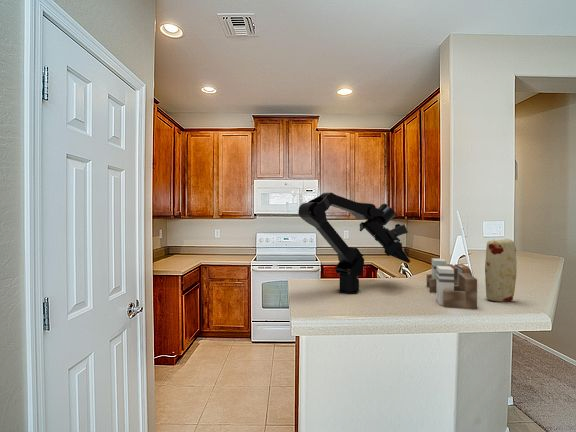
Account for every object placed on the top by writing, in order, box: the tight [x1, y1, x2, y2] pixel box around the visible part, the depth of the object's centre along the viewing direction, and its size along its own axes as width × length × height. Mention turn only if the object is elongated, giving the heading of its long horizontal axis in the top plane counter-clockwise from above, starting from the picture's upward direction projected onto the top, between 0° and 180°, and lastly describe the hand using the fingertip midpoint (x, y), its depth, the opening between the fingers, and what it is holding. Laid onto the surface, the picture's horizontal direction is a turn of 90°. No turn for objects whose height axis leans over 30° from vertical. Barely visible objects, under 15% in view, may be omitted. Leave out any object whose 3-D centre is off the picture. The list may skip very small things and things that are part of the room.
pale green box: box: [430, 257, 447, 279], centre depth 120 cm, size 4×6×11 cm
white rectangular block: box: [436, 266, 454, 306], centre depth 103 cm, size 4×6×11 cm
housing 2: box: [442, 273, 478, 310], centre depth 102 cm, size 9×10×9 cm
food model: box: [484, 238, 518, 303], centre depth 106 cm, size 10×7×20 cm
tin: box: [453, 263, 473, 276], centre depth 125 cm, size 15×3×8 cm, turn 168°
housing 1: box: [426, 263, 458, 294], centre depth 120 cm, size 9×10×9 cm
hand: (409, 262), depth 122 cm, fingers closed
